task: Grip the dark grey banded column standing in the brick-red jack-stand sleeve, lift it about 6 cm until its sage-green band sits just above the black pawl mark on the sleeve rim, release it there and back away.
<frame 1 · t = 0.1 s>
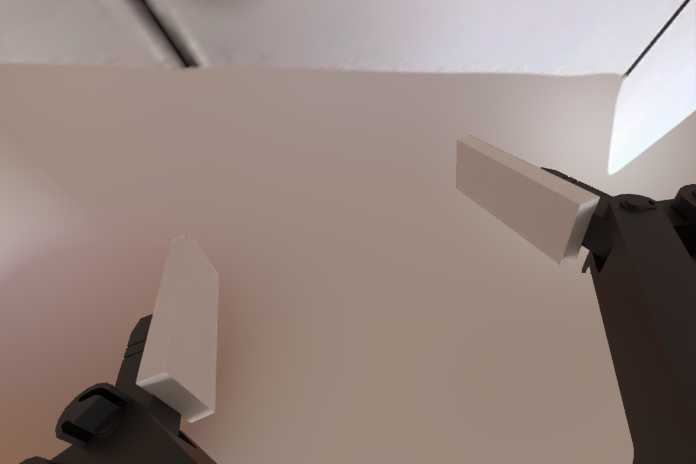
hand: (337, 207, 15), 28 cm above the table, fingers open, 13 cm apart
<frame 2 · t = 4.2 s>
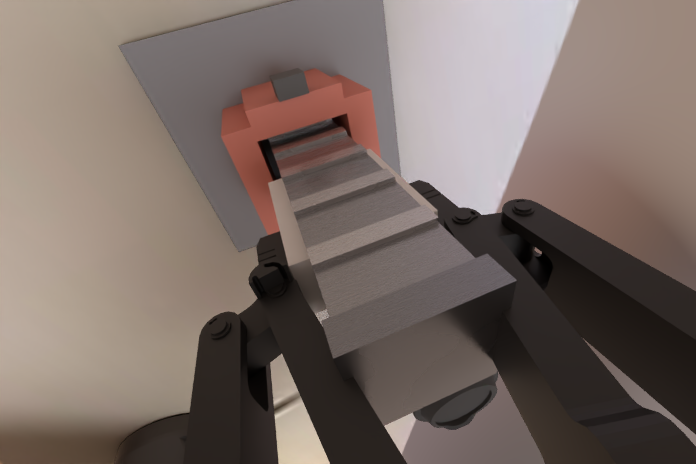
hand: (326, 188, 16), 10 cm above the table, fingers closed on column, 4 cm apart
coffee cup: (394, 292, 39), on the table
stand: (295, 134, 24), on the table
column: (332, 198, 15), point 11 cm above the table, slide at 0.0 cm, touching gripper
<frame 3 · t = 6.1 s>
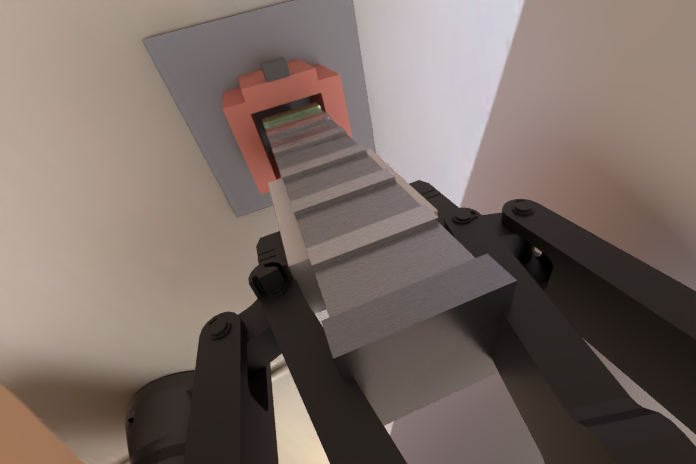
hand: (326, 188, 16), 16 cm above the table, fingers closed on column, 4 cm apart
stand: (284, 115, 28), on the table
column: (332, 198, 15), point 17 cm above the table, slide at 6.0 cm, touching gripper
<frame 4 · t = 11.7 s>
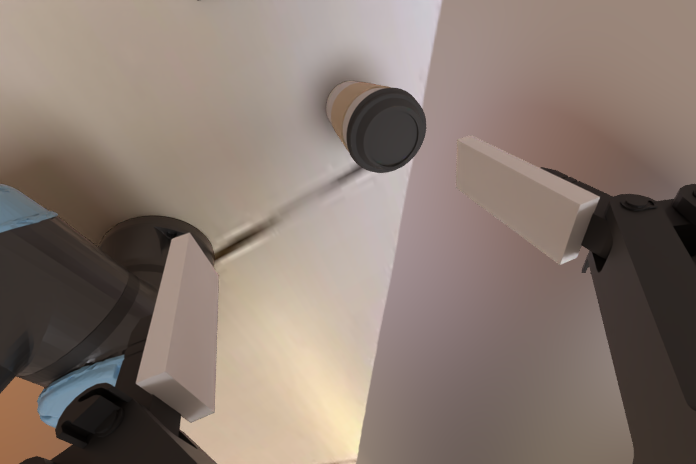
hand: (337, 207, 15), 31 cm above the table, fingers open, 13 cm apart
coffee cup: (349, 106, 43), on the table
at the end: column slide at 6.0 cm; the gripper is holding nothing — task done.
